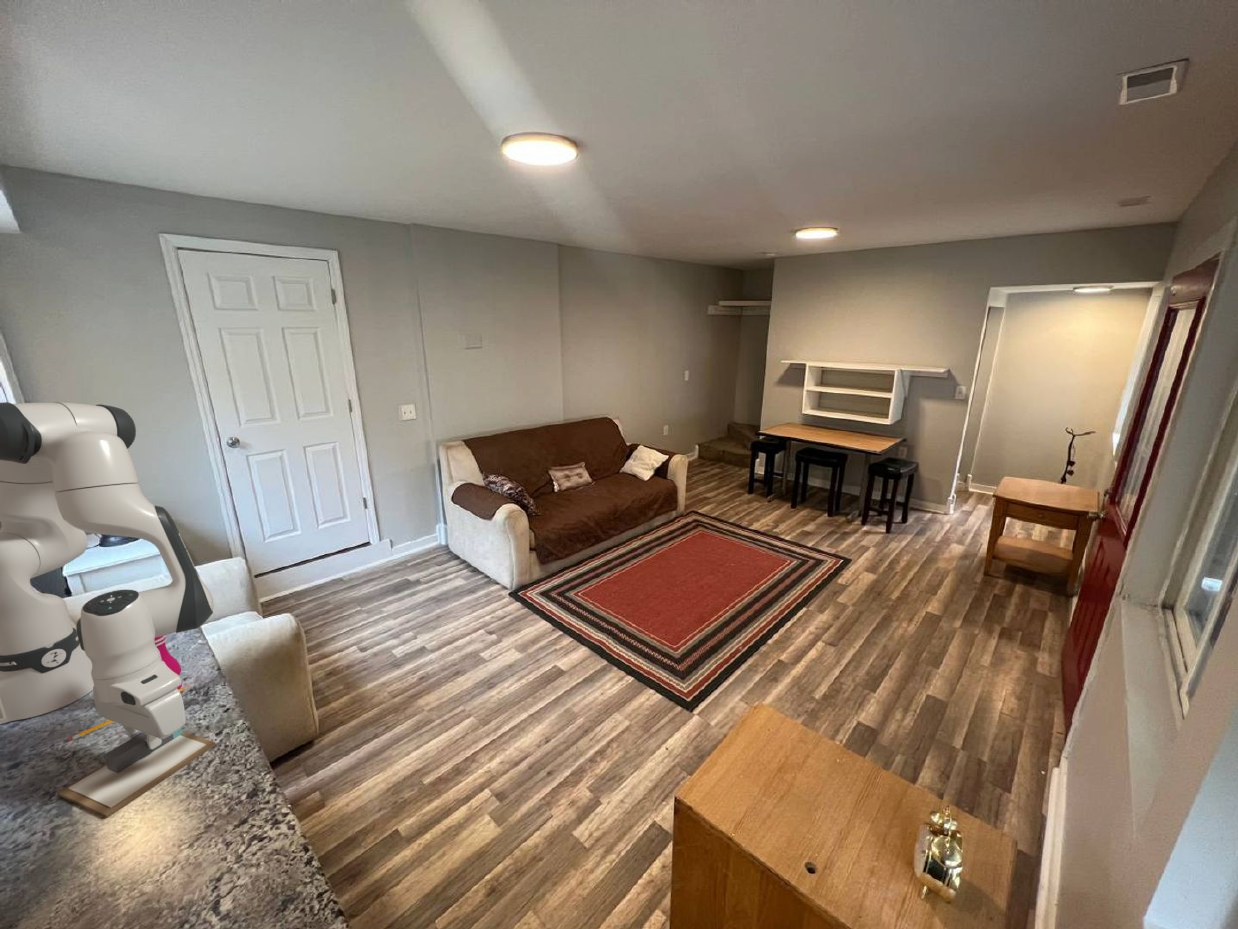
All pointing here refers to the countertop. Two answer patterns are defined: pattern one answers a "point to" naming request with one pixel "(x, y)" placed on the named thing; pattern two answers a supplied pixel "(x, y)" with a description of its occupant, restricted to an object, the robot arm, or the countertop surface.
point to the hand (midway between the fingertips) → (146, 743)
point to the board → (134, 776)
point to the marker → (132, 751)
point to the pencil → (102, 725)
